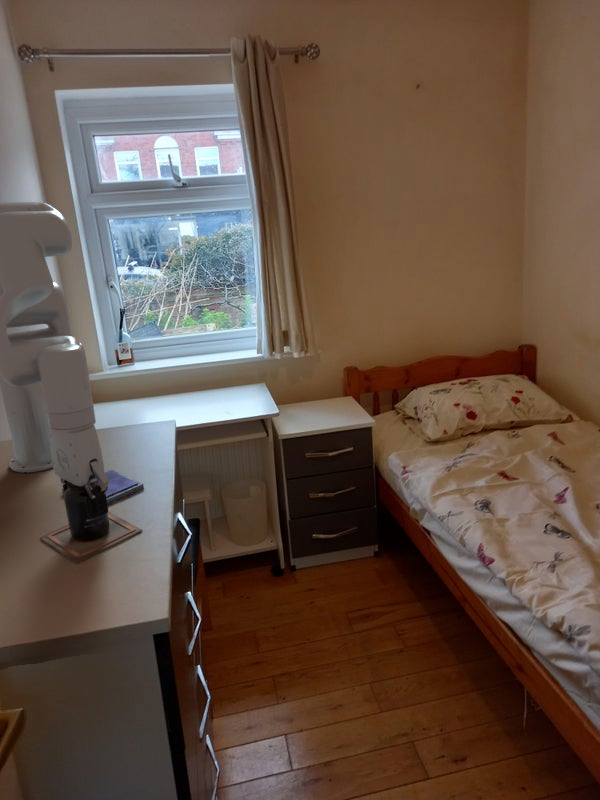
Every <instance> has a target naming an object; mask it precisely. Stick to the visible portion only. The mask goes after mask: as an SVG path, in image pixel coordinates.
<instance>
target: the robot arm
mask: <svg viewBox="0 0 600 800" xmlns="http://www.w3.org/2000/svg"><path fill="white" fill-rule="evenodd" d="M72 246H73V237H72V233H71V229H70V226H69V224H68V222H67V220H66V218H65V217H64V215H62V213H61V212H60V211H59V210H57V209H56V208H54V207H53V206H52V205H50V204H48V203H46V202H41V201H16V202H15V201H11V202H10V201H9V202H7V201H0V392H1V395H2V401H3V405H4V409H5V414H6V419H7V423H8V424H7V425H8V428H9V429H8V430H9V434H10V439H11V443H12V448H13V453H14V457H12V458H11V459H10V460H9V462H8V465H9V468H11V469H12V470H11V469H10V470H11V471H13V472H16V473H25V472H26V473H35V472H42V471H46V470H49V469H52V468H53V472H54V474H55V475H57V476H58V477H59V478H60V482H61V484H62V489H63V490H64V493H65V491H66V489H67V488H68V487H67V481H68V482H70V483H72V484H74V485H77V486H79V487H82V486H85V488H86V490H87V492H88V495H89V498H87V500H88V506H89V512H90V517H91V518H92V519H95V518H97V517H99V516H102V515H104V514H106V513H108V511H109V505H107V499H106V493H107V488H108V483H109V478H108V477H107V475H106V474H105V472H106V471H105V464H104V458H103V453H102V449H101V443H100V440H99V436H98V432H97V429H96V426H95V424H96V422H97V419H96V414H95V408H94V402H93V401H94V399H93V396H92V395H93V394H92V387H91V382H90V373H89V370H88V369H89V368H88V363H87V356H86V352H85V351H86V350H85V348H84V345H83V344H82V343H81V342H80V341H79V340H78V338H76V337H75V336H72V329H71V323H70V322H71V321H70V315H69V308H68V304H67V299H66V296H65V293H64V291H63V289H62V288H61V286H60V284H58V283H57V282H55V281H54V280H53V278H52V274H51V272H50V269H49V266H48V264H47V260H46V258H48V257H62V256H63V257H64V256H67V255H68V254H69V253H70V252H71V250H72ZM37 325H47V327H46V328H39V329H32V330H31V329H30V330H23V331H22V330H21V331H15V332H14V331H13V332H7V328H8V329H10V328H12V329H14V328H22V327H30V326H37ZM93 475H94V476H95V478H94V479H91V480H89V477H91V476H93ZM94 482H97V484H98V485H97V486H96V487H95V488H94V490H93V489H92V487H91V485H90V484H92V483H94Z"/></svg>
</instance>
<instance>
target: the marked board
mask: <svg viewBox="0 0 600 800" xmlns="http://www.w3.org/2000/svg"><path fill="white" fill-rule="evenodd" d="M108 518H109V525H110V527H109V530H108V532H107V533H106V534H105V535H104V536H102V537H101V538H99V539H96V540H93V541H87V542H82V541H77V540H75V539H74V538H73V537H72V536H71V533H70V528H69V523H68V524H66V525H64V526H62V527H60V528H57V529H55V530H53V531H50V532H48V533H45V534H44V535H42V536H39V538H40V540H41V541H42V542H44V543H45V544H46V545H48V546H50V547H51V548H52V549H54V550H55V551H57V552H59V553H60V554H61V555H63V557H65V558H67V560H70V561H71V562H73V563H74V564H75V565H80V564H82V563H83V562H85V561H87V560H89V559H91V558H93V557H95V556H97V555H99V554H101V553H103V552H105V551H107V550H110V549H111V548H113V547H115V546H117V545H118V544H121V543H123V542H125V541H127V540H129V539H131V538H133V537H135V536H136V535H138V534H141V533H142V532H143V529H142V528H140V527H138V526H136V525H134V524H133V523H131V522H128V521H127V520H126V519H123V518H121V517H119V516H117V514H114V513H113V512H110V511H109V510H108Z"/></svg>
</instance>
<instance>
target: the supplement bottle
mask: <svg viewBox="0 0 600 800" xmlns="http://www.w3.org/2000/svg"><path fill="white" fill-rule="evenodd" d="M94 478H95V476H94V475H93V476H91V477H89V480H91V479H94ZM90 485H91V487H92V489H93V490H94V488H95V487H96V486H97V485H98V484H97V482H94V483H92V484H90ZM67 487H68V488H67V489H66V491H65V493H64V495H63V501H64V506H65V511H66V517H67V521H68V524H69V528H70V533H71V536H72V537H73V538H74V539H75V540H77V541H82V542H87V541H93V540H96V539H99V538H101V537H102V536H104V535H105V534H106V533H107V532H108V530H109V527H110V525H109V518H108V513H106V514H104V515H102V516H99V517H97V518H95V519H92V518H91V517H90V512H89V506H88V500H87V498H89V495H88V492H87V490H86V488H85V486H82V487H79V486H77V485H74V484H72V483H70V482H68V481H67Z"/></svg>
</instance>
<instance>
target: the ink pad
mask: <svg viewBox="0 0 600 800" xmlns="http://www.w3.org/2000/svg"><path fill="white" fill-rule="evenodd" d="M104 472H105V474H106V475H107V477H108V478H109V483H108V488H107V493H106V499H107V506H109V505H111V504H113V503H115V502H117V501H120V500H122V499H124V498H127V497H129V496H131V495H133V494H136V493H138V492H140V491H142V490H145V487H144V486H145V485H144V483H142V482H140V481H137V480H136V479H133V478H132V477H129V476H127V475H125V474H122V473H121V472H118V471H116V470H114V469H110V470H108V471H104ZM61 491H62V492H61V493H62V495H63V496H64V490H63V488H62V489H61Z"/></svg>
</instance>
